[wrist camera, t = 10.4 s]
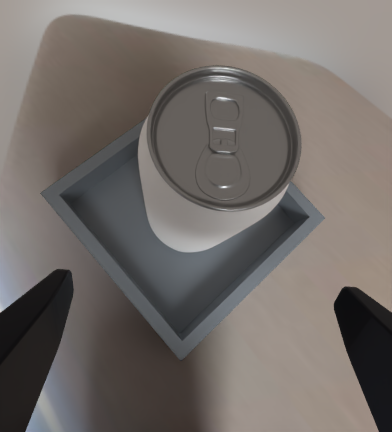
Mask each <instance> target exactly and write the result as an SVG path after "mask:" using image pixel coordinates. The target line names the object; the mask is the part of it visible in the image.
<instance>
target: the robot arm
mask: <svg viewBox="0 0 392 432" xmlns="http://www.w3.org/2000/svg"><path fill="white" fill-rule="evenodd" d="M73 290H74V289H73V281H72V273H71V271H70V270H64V269H57V270H55V271H53V272H52V273H51V274H49V275H48V276H47V277H46V278H44V279H43V280H42V281H40V282H39V283H38V284H37V285H35V286H34V287H33V288H32V289H30V290H29V291H28V292H26V293H25V294H24V295H23V296H21V297H20V298H19V299H18V300H16V301H15V302H14V303H12V304H11V305H10V306H9V307H7V308H6V309H5V310H4V311H2V312H1V313H0V432H25V431H26V428H27V426H28V423H29V421H30V418H31V416H32V413H33V411H34V408H35V406H36V403H37V401H38V398H39V396H40V393H41V390H42V388H43V385H44V383H45V380H46V378H47V375H48V373H49V370H50V368H51V365H52V363H53V360H54V358H55V355H56V352H57V350H58V347H59V344H60V341H61V338H62V334H63V331H64V327H65V323H66V319H67V316H68V312H69V308H70V305H71V301H72V297H73ZM334 311H335V314H336V318H337V321H338V324H339V328H340V331H341V334H342V338H343V341H344V345H345V348H346V351H347V354H348V356H349V359H350V361H351V364H352V366H353V369H354V371H355V374H356V376H357V379H358V381H359V384H360V386H361V389H362V391H363V393H364V396H365V398H366V401H367V403H368V406H369V408H370V411H371V413H372V416H373V418H374V421H375V423H376V426H377V428H378V430H379V432H392V313H391V312H390V311H389V310H387V309H386V308H385V307H383V306H382V305H380V304H379V303H378V302H376V301H375V300H374V299H372V298H371V297H369V296H368V295H367V294H365V293H364V292H363V291H361V290H360V289H358V288H356V287H344V288H342V290H341V291H340V293H339V295H338V297H337V298H336V300H335V302H334Z"/></svg>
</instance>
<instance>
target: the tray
mask: <svg viewBox="0 0 392 432" xmlns="http://www.w3.org/2000/svg"><path fill="white" fill-rule="evenodd" d="M145 120H146V119H144V120H143V121H141V122H140V123H139V124H137V125H136V126H134V127H133V128H132V129H130V130H129V131H127V132H126V133H124V134H123V135H122V136H120V137H119V138H117V139H116V140H115V141H113V142H112V143H110V144H109V145H108V146H106V147H105V148H103V149H102V150H100V151H99V152H98V153H96V154H95V155H93V156H92V157H91V158H89V159H88V160H86V161H85V162H83V163H82V164H81V165H79V166H78V167H76V168H75V169H74V170H72V171H71V172H69V173H68V174H67V175H65V176H64V177H62V178H61V179H59V180H58V181H57V182H55V183H54V184H52V185H51V186H50V187H48V188H47V189H45V190H44V191H42V192H41V193H40V194H41V195H42V196H43V197H44V198H45V199H46V201H47V202H48V203H49V204H50V205H51V207H52V208H53V209H54V210H55V211H56V213H57V214H58V215H59V216H60V217H61V219H62V220H63V221H64V222H65V223H66V225H67V226H68V227H69V228H70V229H71V231H72V232H73V233H74V234H75V235H76V237H77V238H78V239H79V240H80V241H81V243H82V244H83V245H84V246H85V247H86V249H87V250H88V251H89V252H90V253H91V255H92V256H93V257H94V258H95V259H96V260H97V262H98V263H99V264H100V265H101V266H102V268H103V269H104V270H105V271H106V272H107V274H108V275H109V276H110V277H111V278H112V280H113V281H114V282H115V283H116V284H117V286H118V287H119V288H120V289H121V290H122V292H123V293H124V294H125V295H126V296H127V298H128V299H129V300H130V301H131V302H132V304H133V305H134V306H135V307H136V308H137V310H138V311H139V312H140V313H141V314H142V315H143V317H144V318H145V319H146V320H147V321H148V323H149V324H150V325H151V326H152V327H153V329H154V330H155V331H156V332H157V333H158V335H159V336H160V337H161V338H162V339H163V341H164V342H165V343H166V344H167V345H168V347H169V348H170V349H171V350H172V351H173V353H174V354H175V355H176V356H177V357H178V359H179V360H180V361H182V360H183V359H184V358H185V357H186V356H187V355H188V354H189V353H190V352H191V351H192V350H193V349H194V348H195V347H196V346H197V345H198V344H199V343H200V342H201V341H202V340H203V339H204V338H205V337H206V336H207V335H208V334H209V333H210V332H211V331H212V330H213V329H214V328H215V327H216V326H217V325H218V324H219V323H220V322H221V321H222V320H223V319H224V318H225V317H226V316H227V315H228V314H229V313H230V312H231V311H232V310H233V309H234V308H235V307H236V306H237V305H238V304H239V303H240V302H241V301H242V300H243V299H244V298H245V297H246V296H247V295H248V294H249V293H250V292H251V291H252V290H253V289H254V288H255V287H256V286H257V285H258V284H259V283H260V282H261V281H262V280H263V279H264V278H265V277H266V276H267V275H268V274H269V273H270V272H271V271H272V270H273V269H274V268H275V267H276V266H277V265H278V264H279V263H280V262H281V261H282V260H283V259H284V258H285V257H286V256H287V255H288V254H289V253H290V252H292V251H293V250H294V249H295V248H296V247H297V246H298V245H299V244H300V243H301V242H302V241H303V240H304V239H305V238H306V237H307V236H308V235H309V234H310V233H311V232H312V231H313V230H314V229H315V228H316V227H317V226H318V225H319V224H320V223H321V222H322V221H323V220H324V219H325V217H324V216H323V215H322V214H321V213H320V212H319V211H318V210H317V209H316V208H315V207H314V206H313V204H312V203H311V202H310V201H309V200H308V199H307V198H306V197H305V196H304V195H303V194H302V193H301V191H300V190H299V189H298V188H297V187H296V186H295V185H294V184H293V183H292V182H291V181H290V182H289V185H288V188H287V190H286V192H285V194H284V196H283V197H282V199H281V200H280V202H279V203H278V204H277V205H276V206H275V207H274V209H273V210H272V211H271V212H269V213H268V214H267V215H266V216H265V217H263V218H262V219H261V220H259V221H258V222H256V223H255V224H253V225H251V226H250V227H248V228H246V229H244V230H243V231H241V232H239V233H237V234H236V235H234V236H232V237H230V238H229V239H227V240H225V241H223V242H221V243H220V244H218V245H216V246H214V247H212V248H210V249H207V250H204V251H200V252H180V251H177V250H174V249H172V248H170V247H169V246H167V245H166V244H164V243H163V242H162V241H161V240H160V239H159V238H158V237H157V236H156V235H155V233H154V232H153V230H152V228H151V226H150V224H149V221H148V217H147V213H146V208H145V202H144V196H143V191H142V184H141V178H140V172H139V164H138V145H139V138H140V133H141V130H142V127H143V125H144V122H145Z"/></svg>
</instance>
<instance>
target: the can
mask: <svg viewBox="0 0 392 432" xmlns="http://www.w3.org/2000/svg"><path fill="white" fill-rule="evenodd" d="M300 155H301V134H300V129H299V125H298V122H297V119H296V117H295V114H294V112H293V110H292V109H291V107H290V105H289V104H288V102H287V101H286V99H285V98H284V97H283V96H282V95H281V93H280V92H279V91H278V90H277V89H276V88H274V87H273V86H272V85H271V84H270V83H268V82H267V81H265V80H264V79H262V78H261V77H259V76H257V75H255V74H253V73H251V72H248V71H246V70H243V69H239V68H235V67H230V66H218V65H216V66H205V67H200V68H196V69H192V70H190V71H187V72H185V73H183V74H181V75H179V76H178V77H176V78H175V79H173V80H172V81H171V82H169V83H168V84H167V85H166V86H165V87H164V88H163V89H162V91H161V92H160V93H159V94H158V96H157V97H156V99H155V101H154V103H153V105H152V107H151V110H150V113H149V115H148V117H147V118H146V120H145V122H144V125H143V127H142V130H141V133H140V138H139V145H138V164H139V172H140V178H141V184H142V191H143V196H144V202H145V208H146V213H147V217H148V221H149V224H150V226H151V228H152V230H153V232H154V233H155V235H156V236H157V237H158V238H159V239H160V240H161V241H162V242H163V243H164V244H166V245H167V246H169V247H170V248H172V249H174V250H177V251H180V252H200V251H204V250H207V249H210V248H212V247H214V246H216V245H218V244H220V243H221V242H223V241H225V240H227V239H229V238H230V237H232V236H234V235H236V234H237V233H239V232H241V231H243V230H244V229H246V228H248V227H250V226H251V225H253V224H255V223H256V222H258V221H259V220H261V219H262V218H263V217H265V216H266V215H267V214H268V213H269V212H271V211H272V210H273V209H274V207H275V206H276V205H277V204H278V203H279V202H280V200H281V199H282V197H283V196H284V194H285V192H286V190H287V188H288V185H289V182H290V181H291V179H292V178H293V176H294V174H295V172H296V169H297V167H298V164H299V160H300Z"/></svg>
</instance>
